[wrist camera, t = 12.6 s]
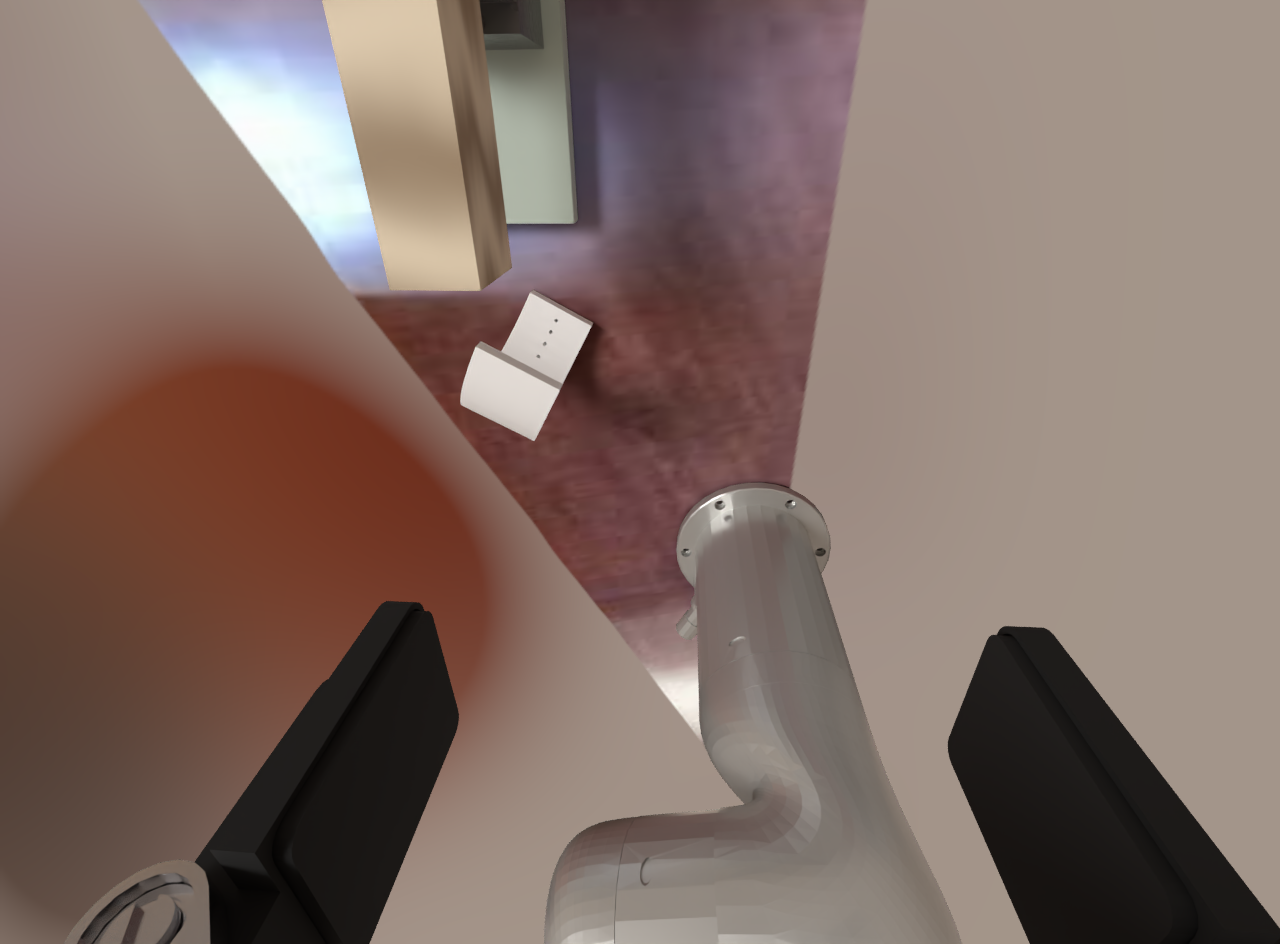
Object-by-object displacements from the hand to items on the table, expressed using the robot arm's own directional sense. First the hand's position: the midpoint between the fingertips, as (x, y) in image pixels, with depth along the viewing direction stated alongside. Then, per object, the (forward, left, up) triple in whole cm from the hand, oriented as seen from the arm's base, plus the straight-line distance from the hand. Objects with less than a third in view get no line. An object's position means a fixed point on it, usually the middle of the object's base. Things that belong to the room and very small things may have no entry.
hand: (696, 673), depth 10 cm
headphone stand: (-8, +7, -32) cm, 33 cm away
